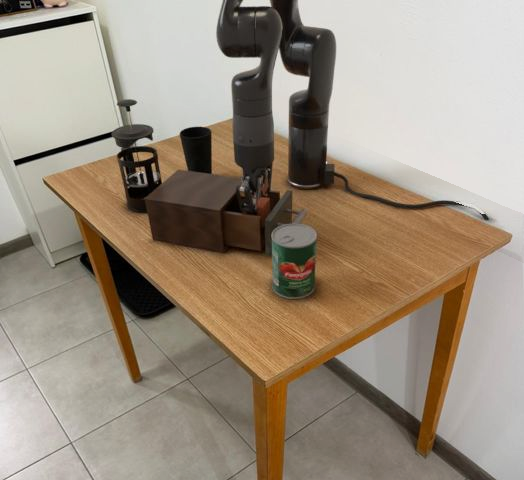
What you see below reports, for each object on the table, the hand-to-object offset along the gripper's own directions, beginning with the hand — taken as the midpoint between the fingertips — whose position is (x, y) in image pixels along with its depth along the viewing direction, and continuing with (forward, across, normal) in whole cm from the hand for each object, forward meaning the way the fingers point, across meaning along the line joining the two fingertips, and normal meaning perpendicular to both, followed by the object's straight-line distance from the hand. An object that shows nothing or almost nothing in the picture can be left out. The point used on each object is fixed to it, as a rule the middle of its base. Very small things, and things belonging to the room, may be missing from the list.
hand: (256, 220), depth 104 cm
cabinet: (+4, 0, +13) cm, 14 cm away
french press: (+5, +7, +32) cm, 33 cm away
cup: (+5, +23, +24) cm, 34 cm away
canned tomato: (+5, -14, -12) cm, 19 cm away
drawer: (+3, 0, 0) cm, 3 cm away
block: (0, 0, 0) cm, 0 cm away
